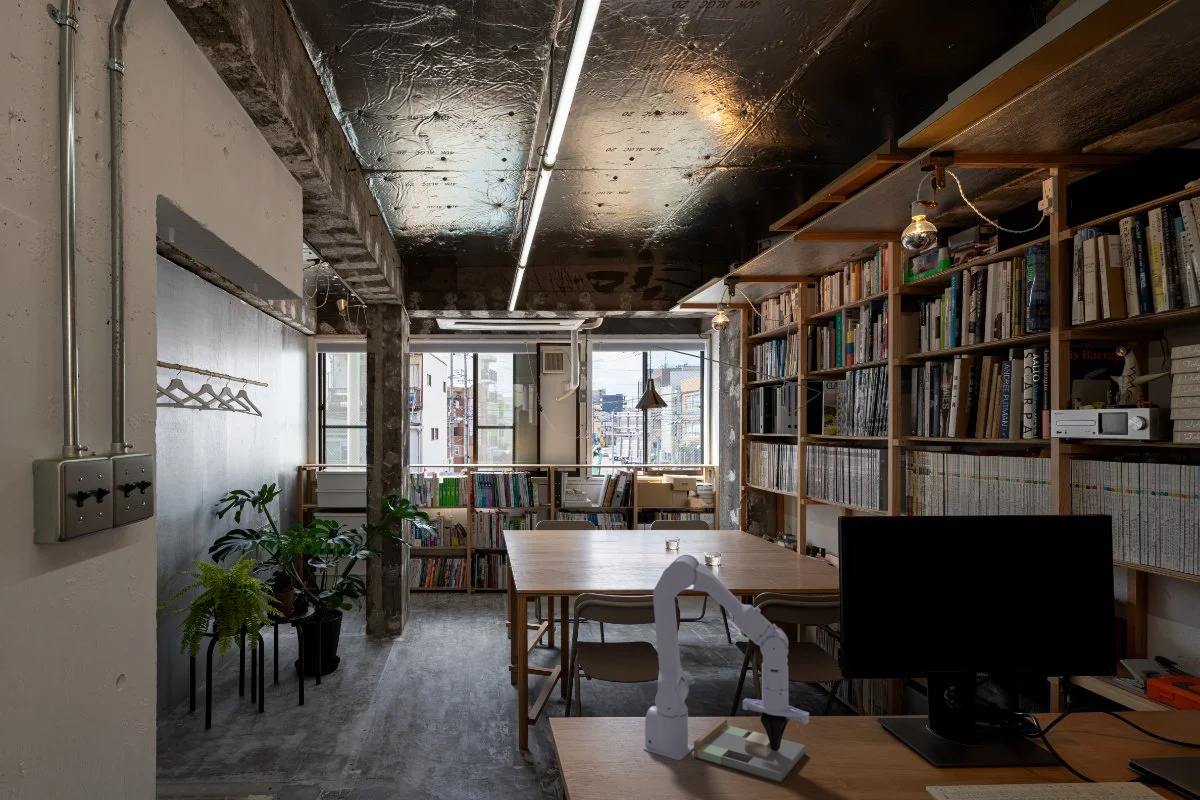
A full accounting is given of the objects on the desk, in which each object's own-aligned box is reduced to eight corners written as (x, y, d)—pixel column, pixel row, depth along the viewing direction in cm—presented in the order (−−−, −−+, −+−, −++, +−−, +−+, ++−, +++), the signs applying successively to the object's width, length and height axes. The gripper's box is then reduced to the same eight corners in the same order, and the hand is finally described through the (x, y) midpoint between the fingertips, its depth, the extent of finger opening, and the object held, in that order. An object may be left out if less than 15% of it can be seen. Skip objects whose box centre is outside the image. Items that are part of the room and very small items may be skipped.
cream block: (745, 750, 156) (745, 739, 156) (753, 742, 160) (753, 731, 160) (766, 756, 153) (766, 745, 153) (774, 748, 157) (774, 736, 157)
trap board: (693, 758, 157) (693, 742, 157) (723, 732, 170) (723, 717, 170) (780, 783, 145) (780, 766, 146) (805, 754, 159) (805, 738, 159)
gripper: (813, 687, 154) (813, 750, 154) (750, 674, 162) (751, 734, 162) (803, 697, 148) (803, 763, 148) (738, 683, 156) (739, 745, 156)
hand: (775, 748), depth 154 cm, fingers closed
